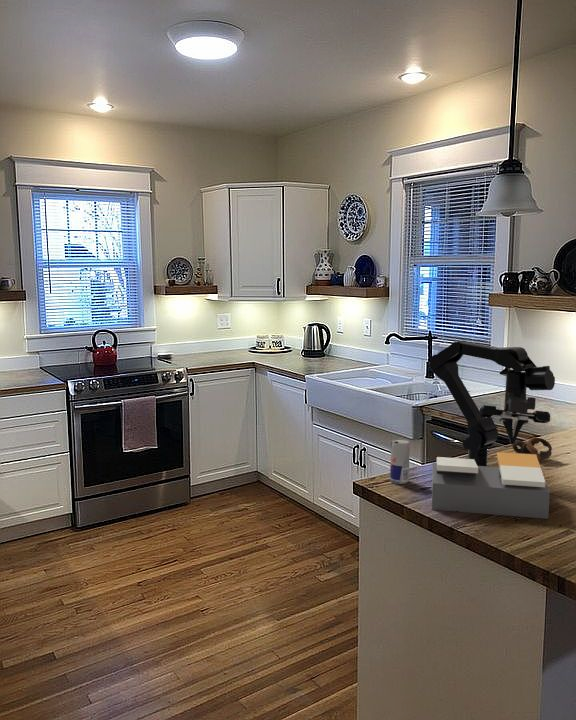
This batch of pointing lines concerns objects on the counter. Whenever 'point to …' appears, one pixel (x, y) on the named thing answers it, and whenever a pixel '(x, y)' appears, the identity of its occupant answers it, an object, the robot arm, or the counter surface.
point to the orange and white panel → (520, 469)
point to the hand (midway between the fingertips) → (512, 444)
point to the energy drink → (399, 461)
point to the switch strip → (487, 494)
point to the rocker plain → (456, 465)
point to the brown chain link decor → (529, 449)
